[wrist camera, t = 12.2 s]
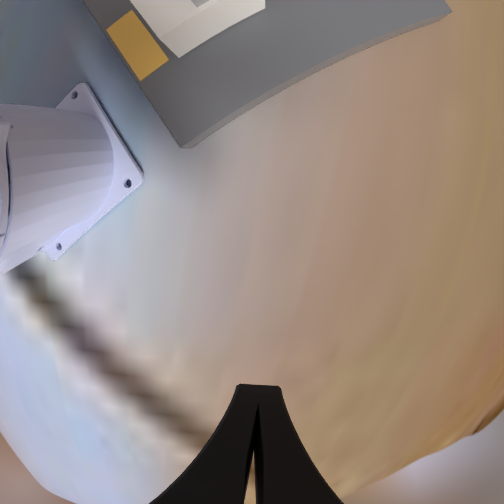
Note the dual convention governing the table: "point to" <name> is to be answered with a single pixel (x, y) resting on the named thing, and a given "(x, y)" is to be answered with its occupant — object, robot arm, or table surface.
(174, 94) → the switch panel
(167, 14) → the slider
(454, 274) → the table surface
